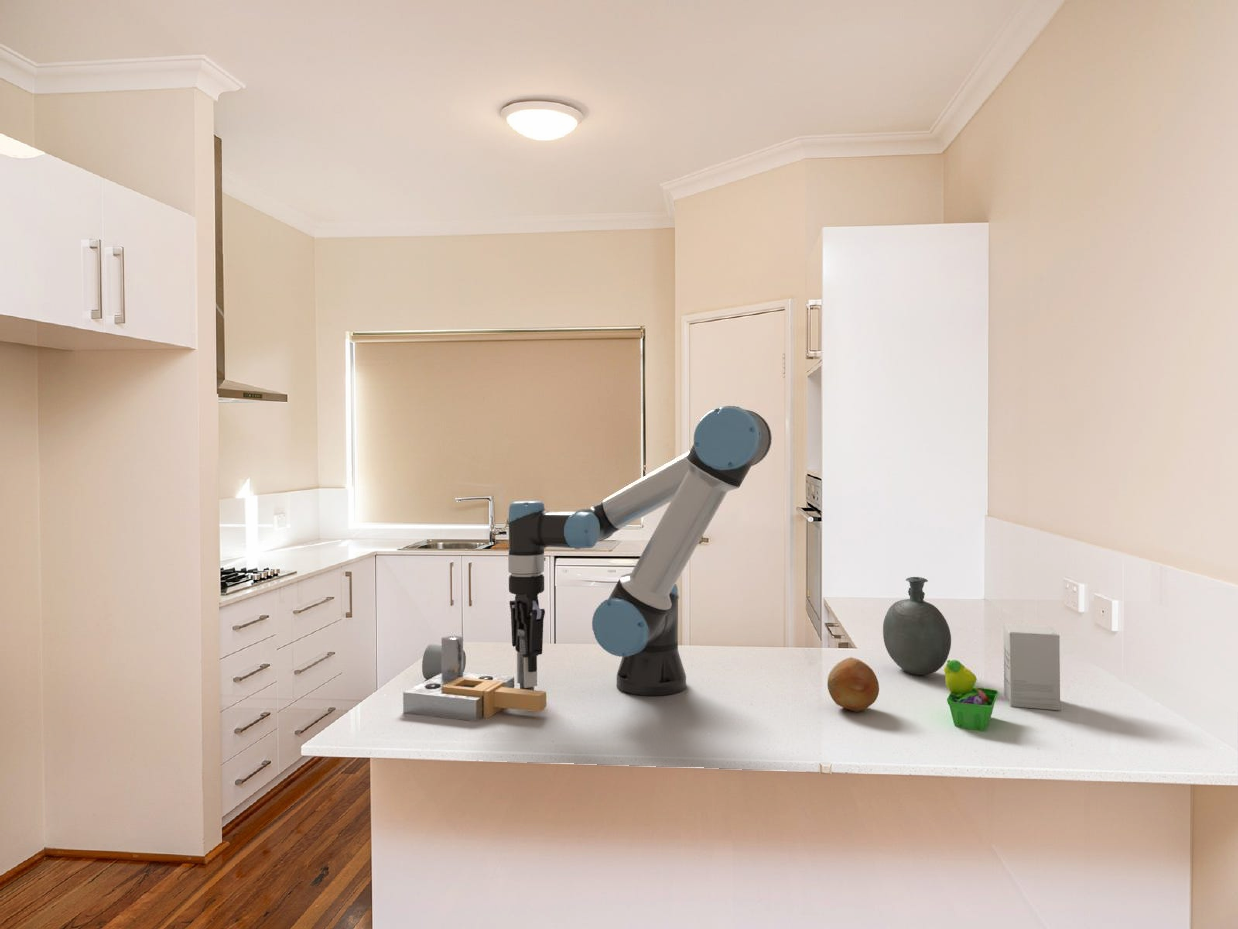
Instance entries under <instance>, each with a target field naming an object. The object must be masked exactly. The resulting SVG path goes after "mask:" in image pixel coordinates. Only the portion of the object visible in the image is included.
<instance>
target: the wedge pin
mask: <svg viewBox="0 0 1238 929" xmlns="http://www.w3.org/2000/svg"><path fill="white" fill-rule="evenodd" d="M518 636H520V683H519V689H526V690H535V686H534V687H528V688H525V687H524V657H523V655H522V654H526V650H525V634H524V628H520V629H518Z"/></svg>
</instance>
